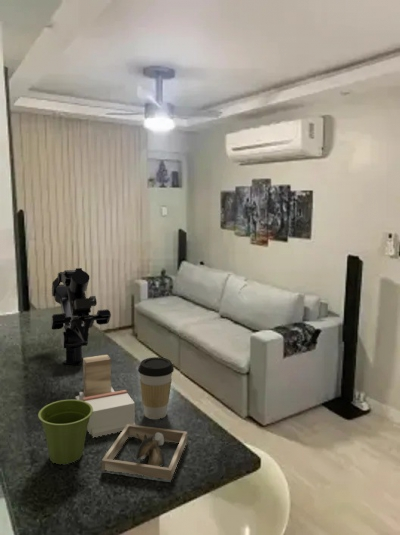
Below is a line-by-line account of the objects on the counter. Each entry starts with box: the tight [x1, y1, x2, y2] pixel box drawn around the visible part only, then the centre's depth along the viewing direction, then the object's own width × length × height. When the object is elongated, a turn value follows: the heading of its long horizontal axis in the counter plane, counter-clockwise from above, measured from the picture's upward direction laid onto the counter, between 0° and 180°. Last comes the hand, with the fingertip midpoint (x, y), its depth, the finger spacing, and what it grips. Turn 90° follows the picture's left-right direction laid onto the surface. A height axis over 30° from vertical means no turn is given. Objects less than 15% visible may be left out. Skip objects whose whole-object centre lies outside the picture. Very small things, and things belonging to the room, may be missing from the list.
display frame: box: [101, 424, 188, 480], centre depth 98 cm, size 16×16×3 cm
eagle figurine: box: [135, 432, 165, 466], centre depth 96 cm, size 8×7×9 cm
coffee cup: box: [137, 356, 175, 420], centre depth 117 cm, size 10×10×15 cm
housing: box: [75, 386, 136, 439], centre depth 117 cm, size 22×12×6 cm, turn 27°
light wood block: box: [82, 354, 112, 397], centre depth 123 cm, size 5×7×12 cm, turn 117°
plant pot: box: [37, 399, 93, 465], centre depth 96 cm, size 12×12×11 cm
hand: (85, 342), depth 135 cm, fingers closed
